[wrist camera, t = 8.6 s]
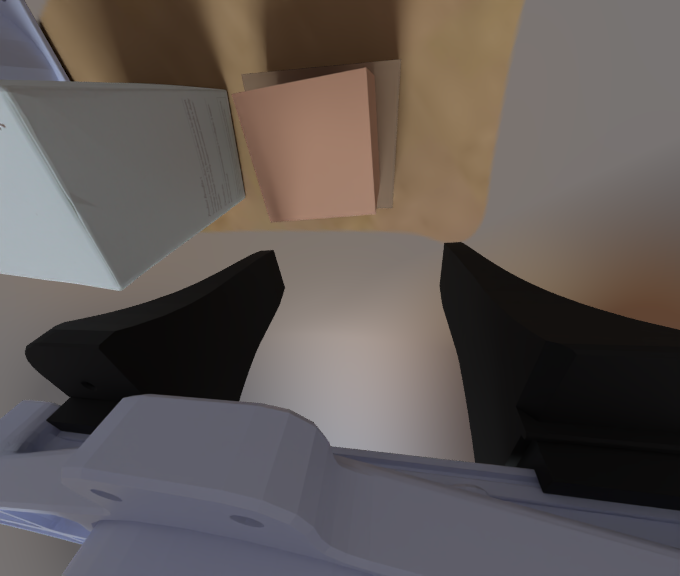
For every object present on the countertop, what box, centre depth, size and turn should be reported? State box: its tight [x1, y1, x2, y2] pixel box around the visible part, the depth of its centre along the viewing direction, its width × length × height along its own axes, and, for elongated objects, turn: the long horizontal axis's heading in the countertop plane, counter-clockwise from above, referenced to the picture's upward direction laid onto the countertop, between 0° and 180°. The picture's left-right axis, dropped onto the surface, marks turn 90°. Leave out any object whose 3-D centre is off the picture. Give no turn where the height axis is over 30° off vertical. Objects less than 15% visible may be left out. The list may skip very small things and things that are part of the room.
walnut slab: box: [241, 59, 401, 208], centre depth 16 cm, size 8×7×4 cm
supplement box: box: [0, 80, 245, 291], centre depth 15 cm, size 7×7×13 cm
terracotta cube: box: [232, 67, 380, 222], centre depth 13 cm, size 5×5×5 cm
